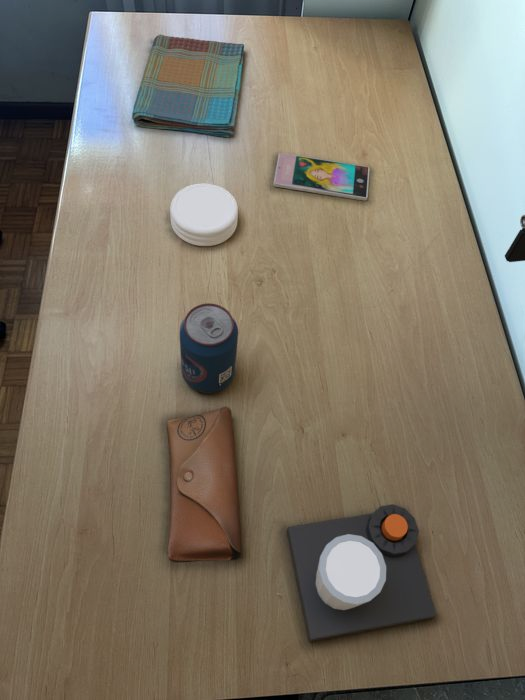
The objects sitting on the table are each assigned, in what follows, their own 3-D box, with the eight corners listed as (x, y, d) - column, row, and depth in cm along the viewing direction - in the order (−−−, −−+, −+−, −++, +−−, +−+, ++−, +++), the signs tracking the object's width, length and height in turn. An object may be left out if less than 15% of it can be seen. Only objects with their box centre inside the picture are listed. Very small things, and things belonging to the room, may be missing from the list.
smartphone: (367, 198, 104) (273, 183, 104) (366, 201, 105) (272, 187, 105) (369, 166, 108) (278, 152, 108) (368, 170, 109) (278, 155, 109)
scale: (402, 510, 79) (409, 501, 76) (433, 618, 73) (443, 612, 70) (285, 529, 77) (289, 520, 74) (308, 642, 71) (312, 637, 68)
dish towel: (130, 127, 110) (128, 115, 108) (153, 41, 122) (152, 28, 120) (233, 139, 110) (234, 127, 108) (246, 52, 122) (247, 39, 120)
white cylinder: (301, 602, 71) (310, 589, 65) (319, 542, 75) (329, 524, 69) (363, 626, 70) (377, 614, 64) (378, 563, 74) (393, 547, 68)
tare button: (400, 516, 76) (404, 512, 74) (407, 539, 74) (410, 535, 73) (378, 520, 75) (381, 515, 74) (385, 542, 74) (388, 539, 73)
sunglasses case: (162, 417, 83) (189, 394, 78) (210, 426, 86) (238, 405, 82) (166, 564, 73) (196, 549, 69) (220, 567, 77) (252, 552, 73)
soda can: (171, 369, 87) (166, 318, 77) (213, 342, 89) (214, 289, 79) (203, 407, 84) (203, 359, 74) (245, 377, 87) (251, 328, 77)
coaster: (160, 236, 98) (159, 220, 95) (184, 191, 103) (184, 174, 100) (224, 255, 97) (225, 239, 94) (245, 208, 102) (246, 192, 99)
